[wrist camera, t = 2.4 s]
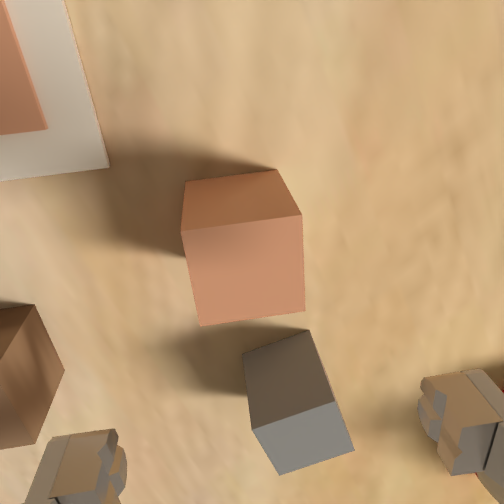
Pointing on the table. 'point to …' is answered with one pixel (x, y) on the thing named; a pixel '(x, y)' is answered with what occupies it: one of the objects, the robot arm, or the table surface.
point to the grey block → (293, 404)
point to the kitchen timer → (492, 485)
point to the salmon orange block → (243, 247)
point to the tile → (44, 95)
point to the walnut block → (25, 375)
